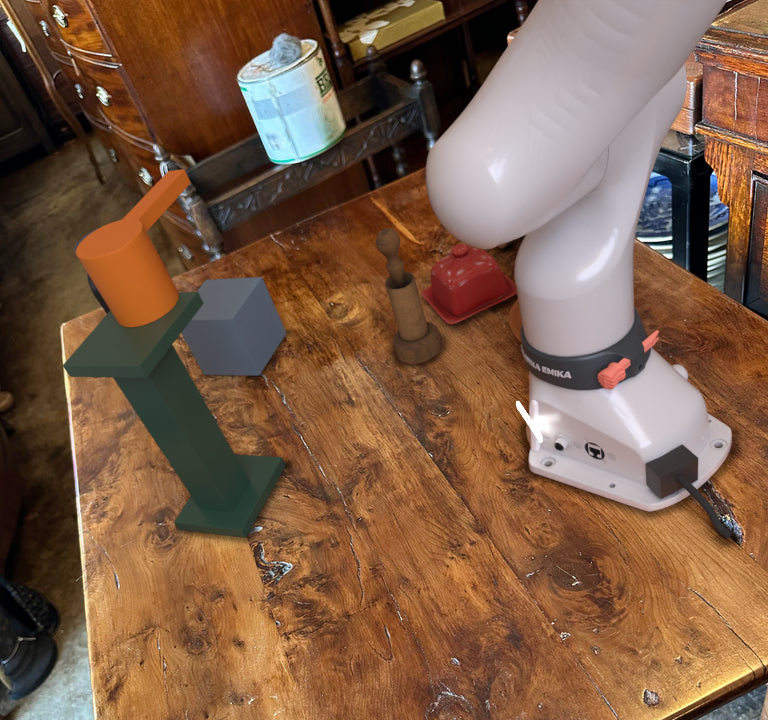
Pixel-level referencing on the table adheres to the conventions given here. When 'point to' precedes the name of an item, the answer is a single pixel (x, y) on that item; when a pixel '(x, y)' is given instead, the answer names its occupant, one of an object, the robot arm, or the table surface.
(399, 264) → the mortar and pestle
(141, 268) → the measuring cup
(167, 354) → the shelf stand
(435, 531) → the table surface
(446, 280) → the butter dish
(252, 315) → the slate grey cube
